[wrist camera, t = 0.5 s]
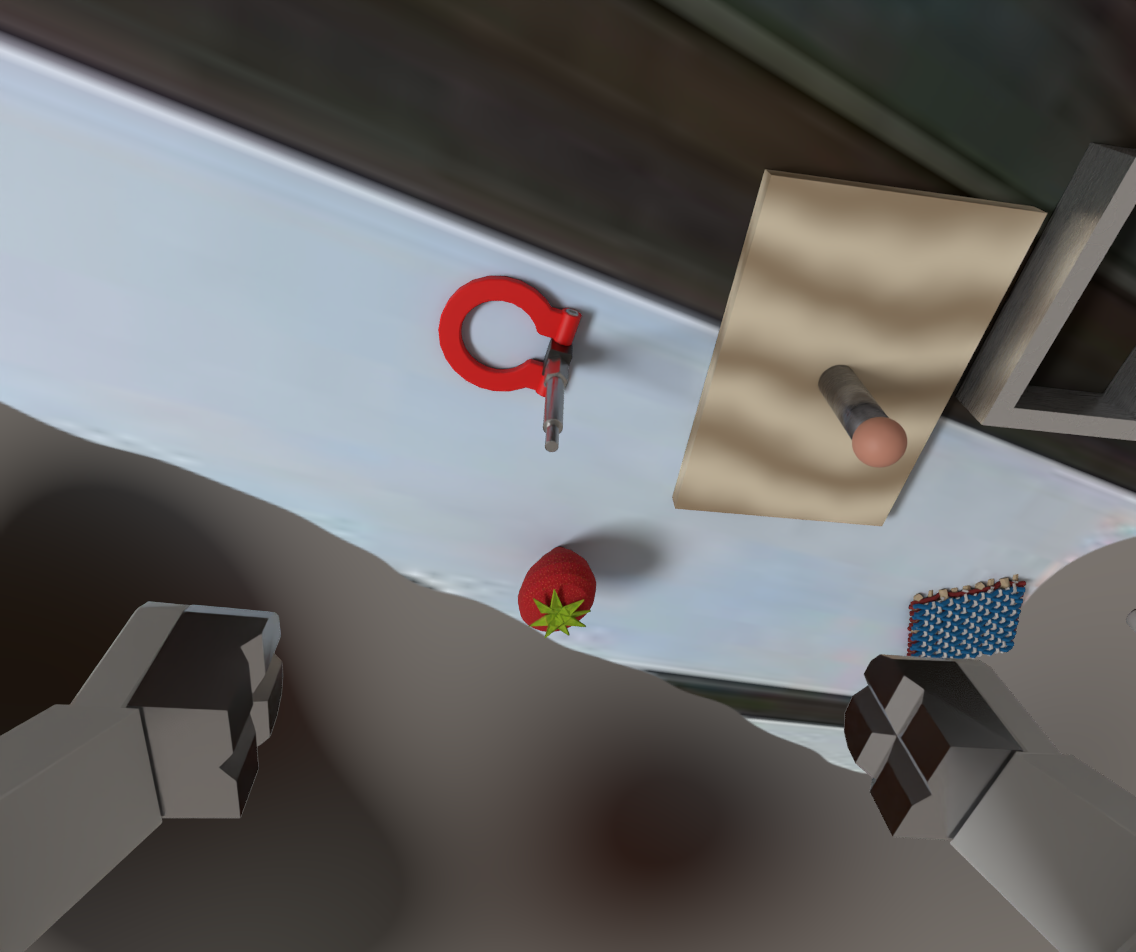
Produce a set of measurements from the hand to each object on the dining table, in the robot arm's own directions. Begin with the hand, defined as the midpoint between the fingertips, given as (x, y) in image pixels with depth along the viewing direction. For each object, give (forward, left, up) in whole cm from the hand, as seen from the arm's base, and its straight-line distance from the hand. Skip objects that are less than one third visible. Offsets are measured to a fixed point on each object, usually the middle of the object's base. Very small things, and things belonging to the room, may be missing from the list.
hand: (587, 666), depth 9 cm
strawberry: (+34, +4, -39) cm, 52 cm away
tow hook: (+14, -2, -40) cm, 42 cm away
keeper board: (+14, +22, -39) cm, 47 cm away
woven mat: (+39, +45, -40) cm, 72 cm away
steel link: (+6, +39, -39) cm, 56 cm away
